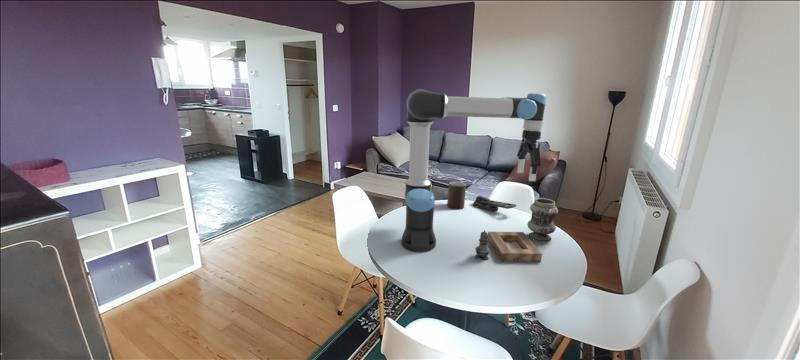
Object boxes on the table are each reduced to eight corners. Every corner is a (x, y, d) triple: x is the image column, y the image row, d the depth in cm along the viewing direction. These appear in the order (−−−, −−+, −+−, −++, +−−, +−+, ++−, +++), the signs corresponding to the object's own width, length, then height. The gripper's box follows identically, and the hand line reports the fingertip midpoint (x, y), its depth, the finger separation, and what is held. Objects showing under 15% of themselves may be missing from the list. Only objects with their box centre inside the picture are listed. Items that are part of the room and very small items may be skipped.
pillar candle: (458, 210, 183) (460, 185, 179) (443, 206, 189) (445, 181, 185) (467, 206, 190) (469, 181, 186) (453, 202, 196) (455, 178, 192)
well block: (501, 261, 131) (502, 253, 130) (487, 238, 151) (488, 231, 150) (540, 261, 132) (542, 253, 131) (522, 239, 151) (523, 232, 150)
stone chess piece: (482, 262, 130) (485, 234, 127) (471, 256, 135) (474, 229, 131) (492, 258, 134) (495, 231, 130) (481, 252, 138) (483, 225, 135)
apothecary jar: (539, 230, 161) (545, 195, 156) (559, 240, 150) (566, 203, 145) (520, 233, 156) (525, 198, 151) (539, 245, 146) (545, 206, 141)
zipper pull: (507, 207, 171) (471, 194, 191) (505, 219, 173) (471, 205, 193) (518, 204, 176) (482, 191, 196) (516, 216, 178) (481, 202, 198)
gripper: (554, 134, 132) (546, 184, 138) (529, 126, 156) (523, 169, 162) (535, 133, 132) (528, 184, 138) (513, 126, 156) (508, 169, 162)
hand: (525, 176), depth 150 cm, fingers open, 13 cm apart
